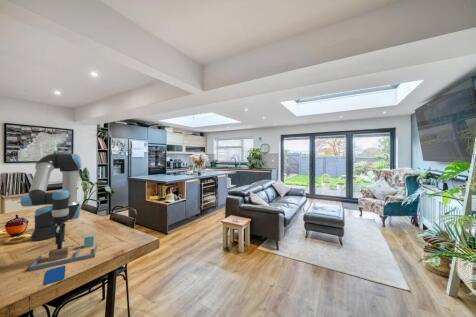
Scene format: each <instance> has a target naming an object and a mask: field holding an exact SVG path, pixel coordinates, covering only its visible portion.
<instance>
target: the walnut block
mask: <svg viewBox="0 0 476 317" xmlns="http://www.w3.org/2000/svg"><path fill="white" fill-rule="evenodd" d="M68 257H69V246H66V247H65V246H64V247H63V248H61V249H57V248H55V249H51V250H49V252H48V262H54V261H59V260H64V259H68Z"/></svg>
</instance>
